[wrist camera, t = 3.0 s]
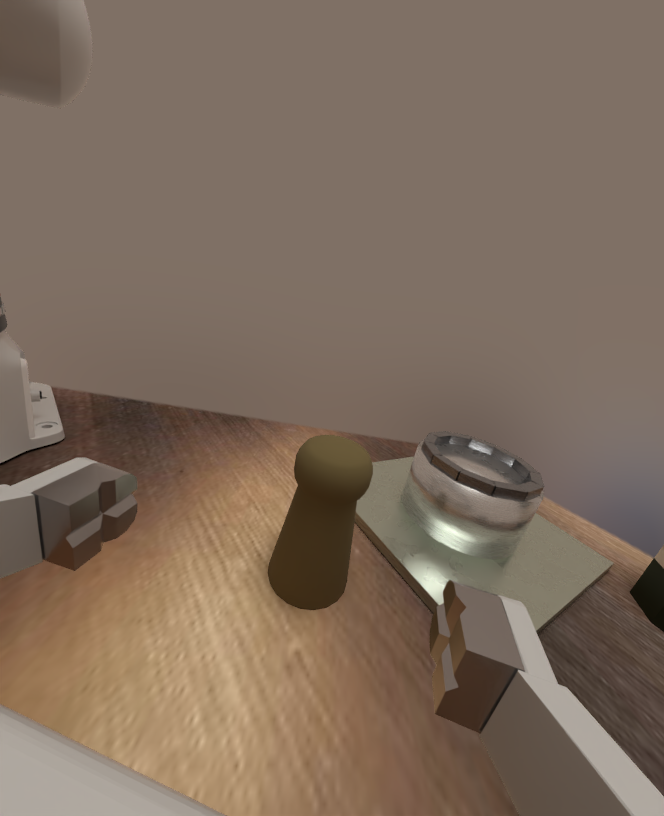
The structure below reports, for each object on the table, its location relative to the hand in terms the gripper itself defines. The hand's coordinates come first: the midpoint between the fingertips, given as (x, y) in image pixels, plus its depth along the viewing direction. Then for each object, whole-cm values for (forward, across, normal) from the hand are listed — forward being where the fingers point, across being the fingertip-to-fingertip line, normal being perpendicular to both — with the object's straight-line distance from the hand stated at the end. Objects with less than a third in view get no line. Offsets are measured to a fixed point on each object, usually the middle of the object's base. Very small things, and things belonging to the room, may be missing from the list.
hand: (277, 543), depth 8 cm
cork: (+12, 0, +14) cm, 19 cm away
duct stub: (+25, -12, +14) cm, 31 cm away
